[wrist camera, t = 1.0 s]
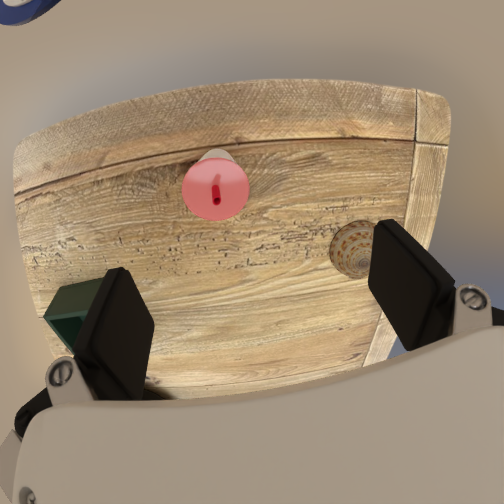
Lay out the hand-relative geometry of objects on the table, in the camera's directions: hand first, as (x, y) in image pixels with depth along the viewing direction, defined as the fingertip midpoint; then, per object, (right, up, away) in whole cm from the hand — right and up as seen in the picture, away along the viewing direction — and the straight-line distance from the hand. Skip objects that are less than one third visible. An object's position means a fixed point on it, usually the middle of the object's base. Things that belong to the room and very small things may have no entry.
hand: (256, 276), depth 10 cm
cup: (-4, +11, +19) cm, 22 cm away
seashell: (+15, +2, +27) cm, 31 cm away
